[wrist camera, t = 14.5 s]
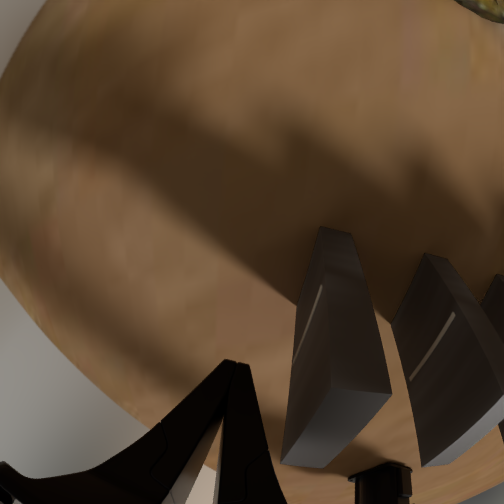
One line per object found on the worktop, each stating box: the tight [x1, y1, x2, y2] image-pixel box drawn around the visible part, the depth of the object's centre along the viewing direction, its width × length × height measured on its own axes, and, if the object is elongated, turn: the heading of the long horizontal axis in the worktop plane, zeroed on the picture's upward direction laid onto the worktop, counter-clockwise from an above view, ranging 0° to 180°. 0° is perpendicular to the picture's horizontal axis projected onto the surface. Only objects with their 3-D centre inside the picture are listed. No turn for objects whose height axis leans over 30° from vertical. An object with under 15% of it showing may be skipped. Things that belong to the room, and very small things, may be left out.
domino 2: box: [391, 253, 504, 467], centre depth 11 cm, size 2×5×10 cm, turn 171°
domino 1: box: [280, 226, 392, 468], centre depth 11 cm, size 2×5×10 cm, turn 171°
